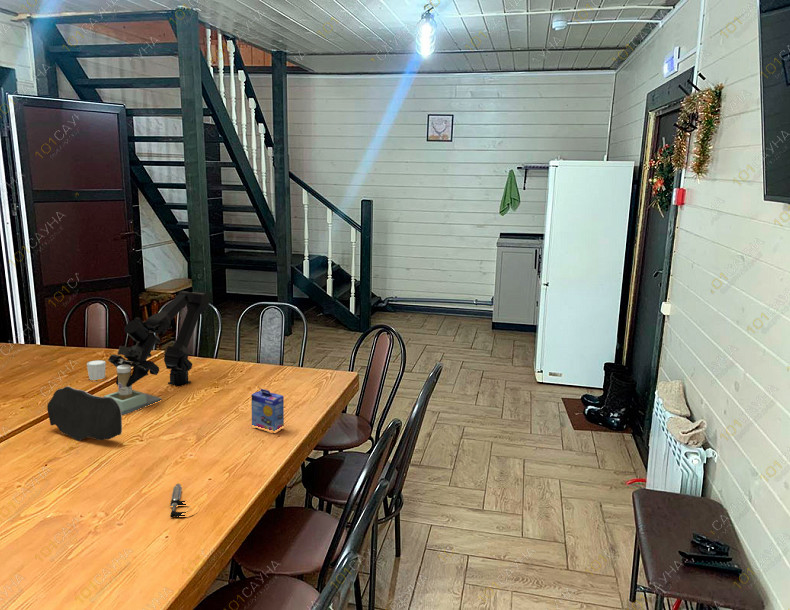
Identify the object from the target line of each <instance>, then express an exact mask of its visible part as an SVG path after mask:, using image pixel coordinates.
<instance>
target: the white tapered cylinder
mask: <svg viewBox="0 0 790 610" xmlns="http://www.w3.org/2000/svg"><path fill="white" fill-rule="evenodd" d="M106 365H107V363H106V361H105V360H100V359H97V360H91V361H88V362H87V363H86V367H87V374H88V379H90V380H98V379H103V378H105V379H106ZM90 380H89V381H90Z"/></svg>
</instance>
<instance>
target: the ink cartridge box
mask: <svg viewBox="0 0 790 610" xmlns="http://www.w3.org/2000/svg"><path fill="white" fill-rule="evenodd" d="M284 402H285V400H284V395H282V394H278V393H274V392H270V390H268V389H265V388H264V389H263V388H260V389H259V391H256V392H254V393H252V394H251V426H252V425H254V426H258V427H261V428H265V429H269V430H273V431H275V430H277V429H279V428H280V427H282V426H285V423H284V422H285V421H284V420H285V417H284V416H285V415H284V412H285V411H284V410H285V409H284V405H285V403H284Z"/></svg>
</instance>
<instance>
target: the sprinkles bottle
mask: <svg viewBox="0 0 790 610" xmlns="http://www.w3.org/2000/svg"><path fill="white" fill-rule="evenodd" d="M116 373H118V385H117V387H118V389H117V390H118V391H119V399H120V400H125V399H128V398H131V397H132V390H133V384H132V385H131V386H130V387H127V386H126V384H127V382H128V380H129V378H130V376H131V375H132V367H131V366H130V365H120V366H118V367H116ZM118 391H117V392H118Z"/></svg>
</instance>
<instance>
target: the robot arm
mask: <svg viewBox="0 0 790 610" xmlns="http://www.w3.org/2000/svg"><path fill="white" fill-rule="evenodd" d="M210 300H211V299H210V297H209V295H208V294H207V293H204V292H195V291H193V292H190V291H186V290H185V291H184V290H182V291H179V292H178V293H177V295H176V296H175V297H174V298H173V299H172V300H171V301H170V302H169V303H168V304H167V305H166V306H165V307H164V308H163V309H162V310H160V311H159V312H156V313H154V314H152V315H151V316H149V317H148V318H146V320H145V321H143V320H142V319H141V318H140V317H135V318H134V319H133V320H131V321H129V322H128V323H126V324H125V325H124V333H126V334H127V335H128V336H129V337H131V339H132V340H133V341H134V342H136V344H135V345H133V344H132V345H131V346H130V347H128V346H123V345H119V347H118V351H117V354H113V353H112V354H111V355H110V356H109V358H108V359H107V361H108V362H109V363H111V364H112V365H113V366H114V367H116V368H117V367H118V366H120V365H130V366H131V368H132V372H131V376H130V378H129V380H128V382H127V384H126V386H127V387H130V386H131V385H132V386H133V385H134V384H136V383H137V382H138V381H139V380H141V379H143V378H144V377H147V376H149V375H154V376H157V375H158V374H159V372H160V366H158V364H156V363H155V362H154V361H151V360H147V359H148V358H151V357H152V353H151V352H152V350H153V349H154V347H155V345H156V344H161V343H162V342H161V341H162V340H161V339H160V336H159V335H164V334H165V333H166V332H167V331H168V329H169V328H170V327H171V322H172V320H173V319H174V318H175V317H176V316H177V315H178V314H179V313H180V312H181V311H182V310H183V308H185V307H186V309H187V311H186V314H185V316H184V319H183V322H182V324H181V327H180V329H179V331H178V334H177V337H176V339H175V343H174V344H172V345H168V346H167V348H166V349H165V350H166V351H165V353H164V354H163V356H164V357H163V362H164V364H165V367H166V369H167V370H169V371H170V373H169V381H168V383H167V384H168V385H170V384H171V386H174V385H175V386H174V387H177V386H180V387H182V385H183V386H185V384H186V385H189V384H191V383H192V381H191V380H189V372H190V370H192V368H193V363H192V361H190V359H189V350H188V348H189V347H188V346H189V344H190V341H191V338H192V336H193V334H194V330H195V328H196V325H197V322H198V320H199V318H200V315H202V314H203V313H204V312H205V311H206V310H207V308H208V306H209V304H210ZM155 334H159V335H155ZM116 373H117V372H116ZM188 383H189V384H188ZM115 385H117V386H118V373H117V374H116V380H115Z"/></svg>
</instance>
